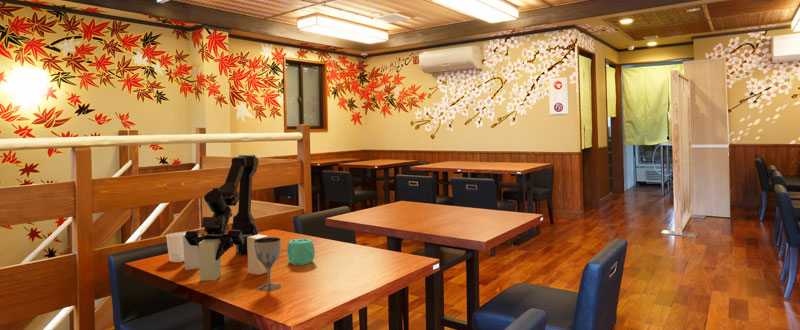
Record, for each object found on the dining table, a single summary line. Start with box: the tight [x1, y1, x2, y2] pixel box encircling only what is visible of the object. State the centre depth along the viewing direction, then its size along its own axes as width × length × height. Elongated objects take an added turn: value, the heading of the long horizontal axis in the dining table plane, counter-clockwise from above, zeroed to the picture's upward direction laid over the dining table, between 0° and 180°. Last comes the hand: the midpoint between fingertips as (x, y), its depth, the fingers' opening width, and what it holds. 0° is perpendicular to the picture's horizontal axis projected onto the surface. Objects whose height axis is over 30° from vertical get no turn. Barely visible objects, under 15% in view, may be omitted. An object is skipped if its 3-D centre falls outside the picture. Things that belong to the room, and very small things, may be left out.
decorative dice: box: [286, 238, 316, 266], centre depth 184 cm, size 8×8×8 cm
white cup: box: [165, 231, 184, 263], centre depth 190 cm, size 8×8×10 cm
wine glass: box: [254, 236, 282, 292], centre depth 155 cm, size 8×8×15 cm
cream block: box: [247, 233, 269, 276], centre depth 172 cm, size 5×5×12 cm
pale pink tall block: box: [182, 231, 200, 271], centre depth 180 cm, size 5×5×12 cm
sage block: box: [199, 239, 222, 281], centre depth 166 cm, size 5×5×12 cm
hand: (208, 259), depth 165 cm, fingers closed on sage block, 5 cm apart
